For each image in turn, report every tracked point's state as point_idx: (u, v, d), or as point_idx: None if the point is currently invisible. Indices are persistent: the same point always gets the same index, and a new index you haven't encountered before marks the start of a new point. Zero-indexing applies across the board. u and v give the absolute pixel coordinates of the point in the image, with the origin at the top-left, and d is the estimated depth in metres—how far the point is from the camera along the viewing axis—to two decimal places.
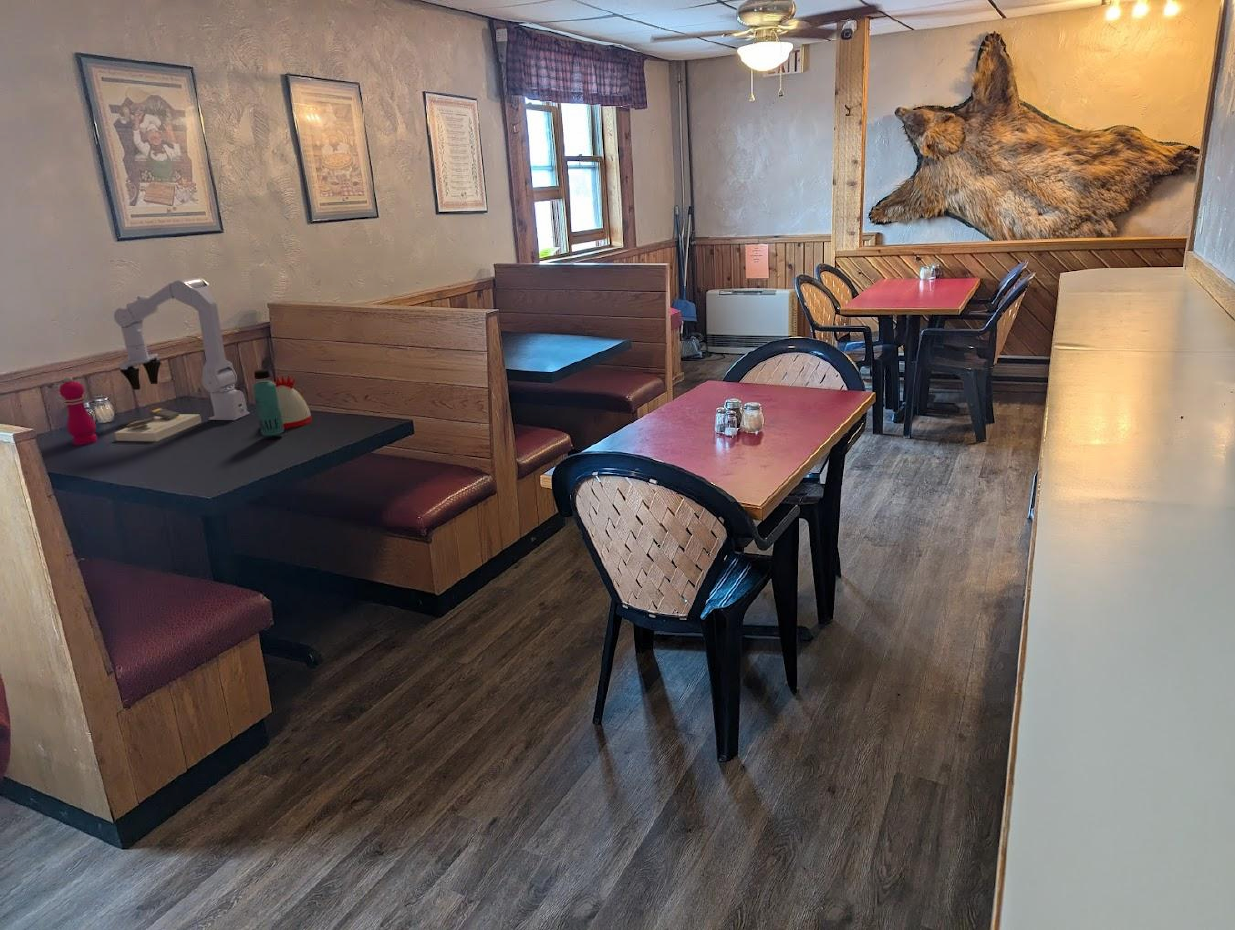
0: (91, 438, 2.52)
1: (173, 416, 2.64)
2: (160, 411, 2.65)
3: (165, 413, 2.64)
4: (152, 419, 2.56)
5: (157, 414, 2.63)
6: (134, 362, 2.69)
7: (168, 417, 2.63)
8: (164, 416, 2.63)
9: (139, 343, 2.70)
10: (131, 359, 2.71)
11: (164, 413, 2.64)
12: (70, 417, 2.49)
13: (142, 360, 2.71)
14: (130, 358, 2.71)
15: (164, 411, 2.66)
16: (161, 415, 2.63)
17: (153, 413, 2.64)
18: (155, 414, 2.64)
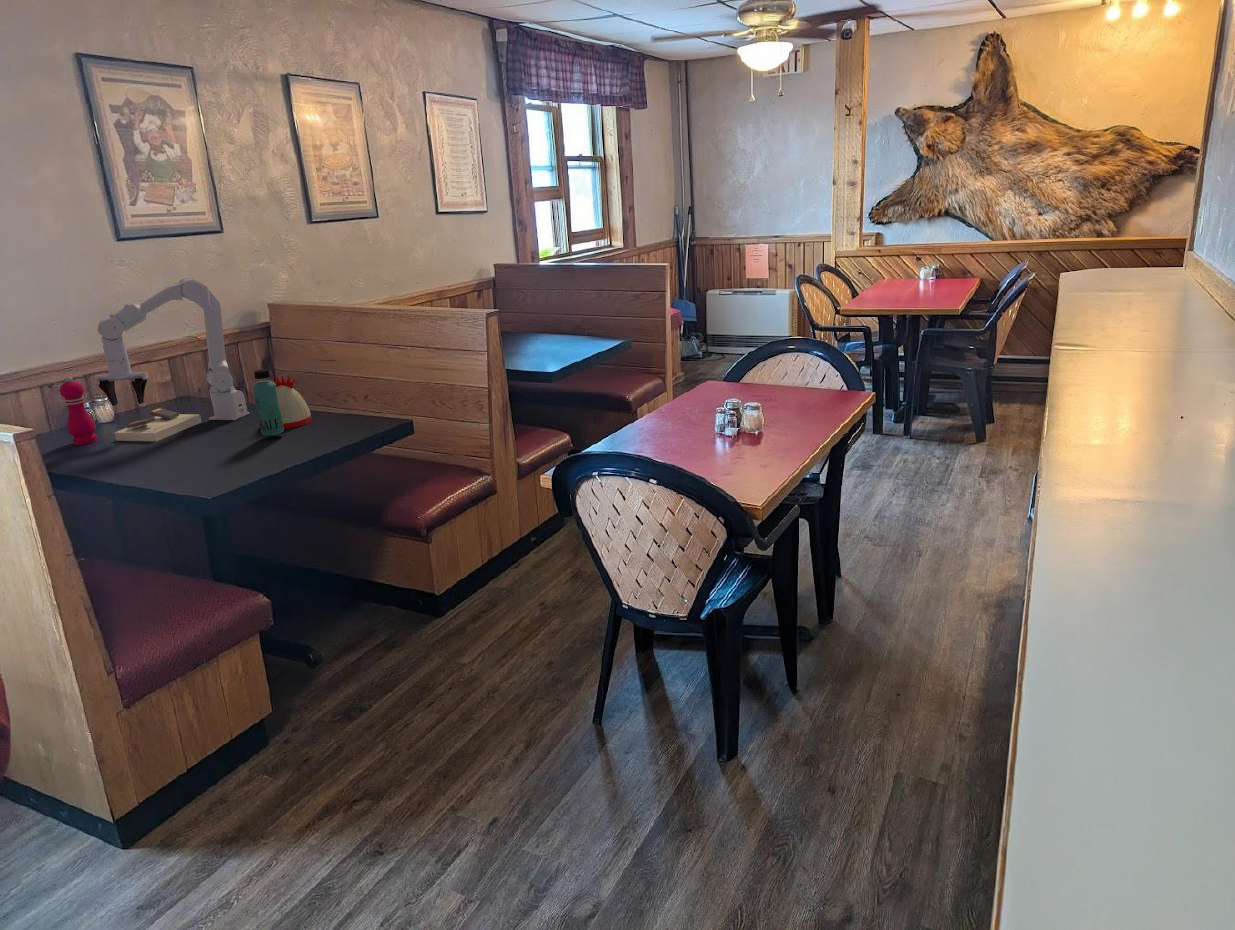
0: (91, 438, 2.52)
1: (173, 416, 2.64)
2: (160, 411, 2.65)
3: (165, 413, 2.64)
4: (152, 419, 2.56)
5: (157, 414, 2.63)
6: (104, 377, 2.52)
7: (168, 417, 2.63)
8: (164, 416, 2.63)
9: (127, 356, 2.52)
10: None
11: (164, 413, 2.64)
12: (70, 417, 2.49)
13: (111, 377, 2.51)
14: None
15: (164, 411, 2.66)
16: (161, 415, 2.63)
17: (153, 413, 2.64)
18: (155, 414, 2.64)
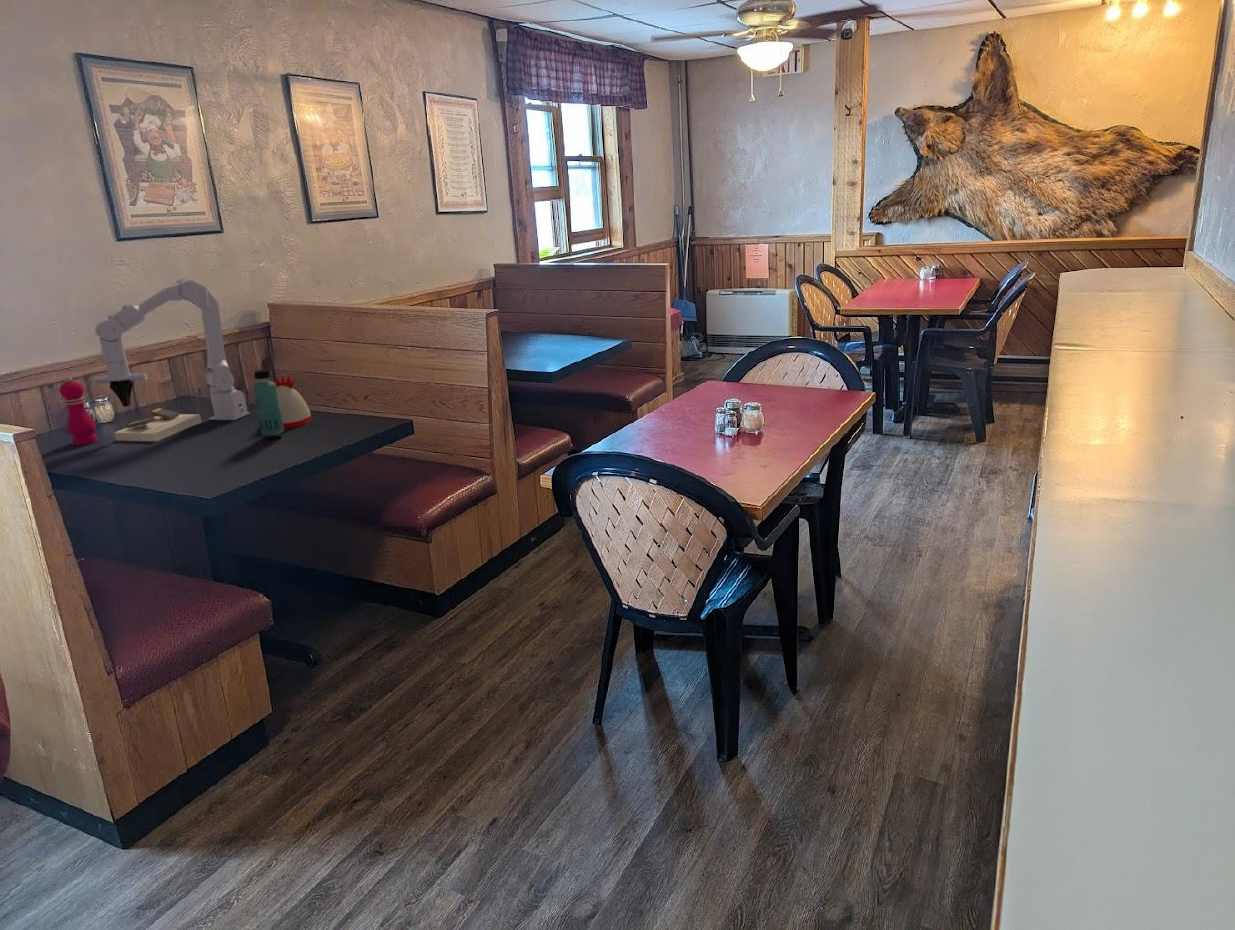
0: (91, 438, 2.52)
1: (173, 416, 2.64)
2: (160, 411, 2.65)
3: (165, 413, 2.64)
4: (152, 419, 2.56)
5: (157, 414, 2.63)
6: (103, 379, 2.50)
7: (168, 417, 2.63)
8: (164, 416, 2.63)
9: (125, 357, 2.51)
10: None
11: (164, 413, 2.64)
12: (70, 417, 2.49)
13: (110, 378, 2.49)
14: None
15: (164, 411, 2.66)
16: (161, 415, 2.63)
17: (153, 413, 2.64)
18: (155, 414, 2.64)
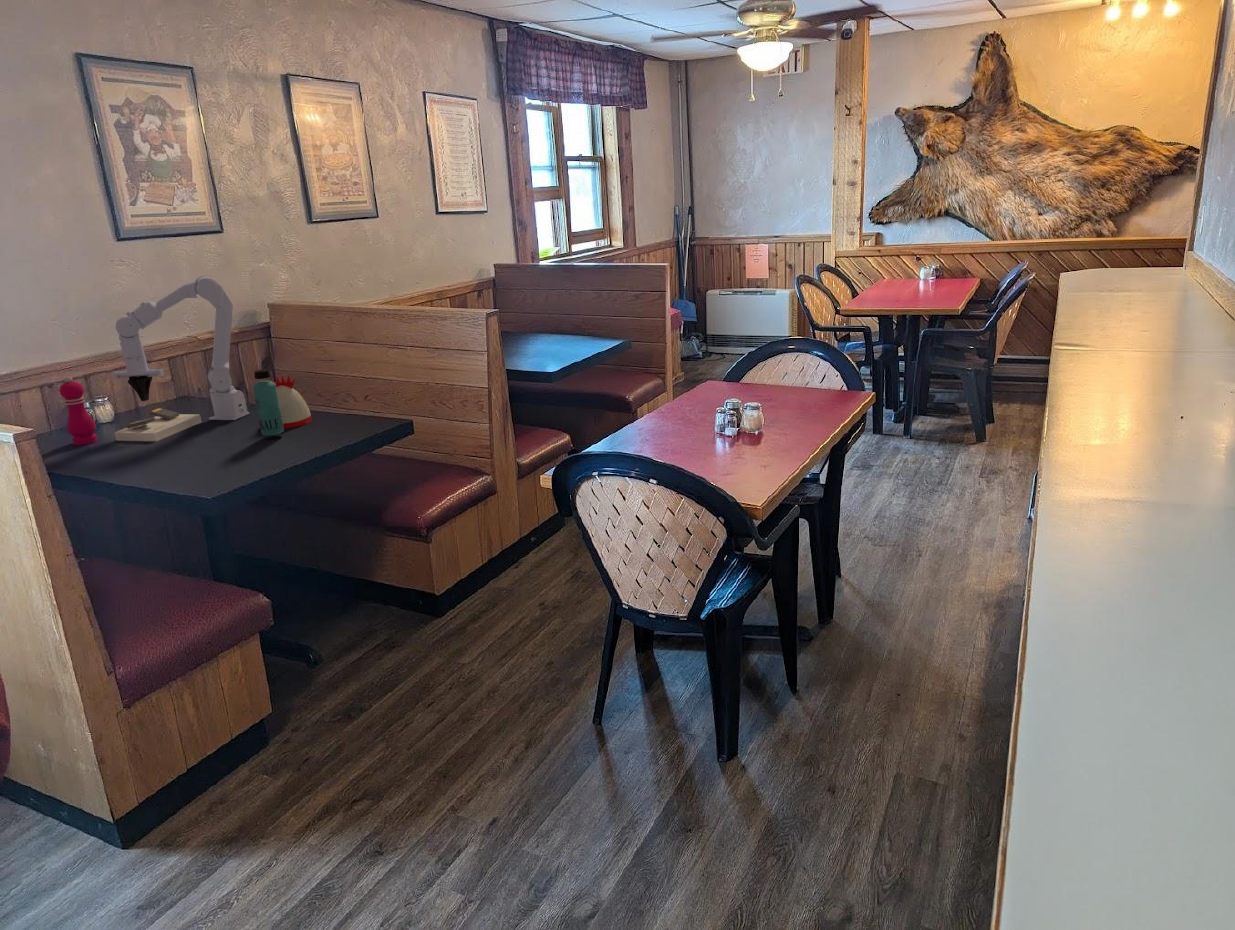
0: (91, 438, 2.52)
1: (173, 416, 2.64)
2: (160, 411, 2.65)
3: (165, 413, 2.64)
4: (152, 419, 2.56)
5: (157, 414, 2.63)
6: (122, 374, 2.57)
7: (168, 417, 2.63)
8: (164, 416, 2.63)
9: (143, 353, 2.56)
10: None
11: (164, 413, 2.64)
12: (70, 417, 2.49)
13: (128, 374, 2.56)
14: None
15: (164, 411, 2.66)
16: (161, 415, 2.63)
17: (153, 413, 2.64)
18: (155, 414, 2.64)
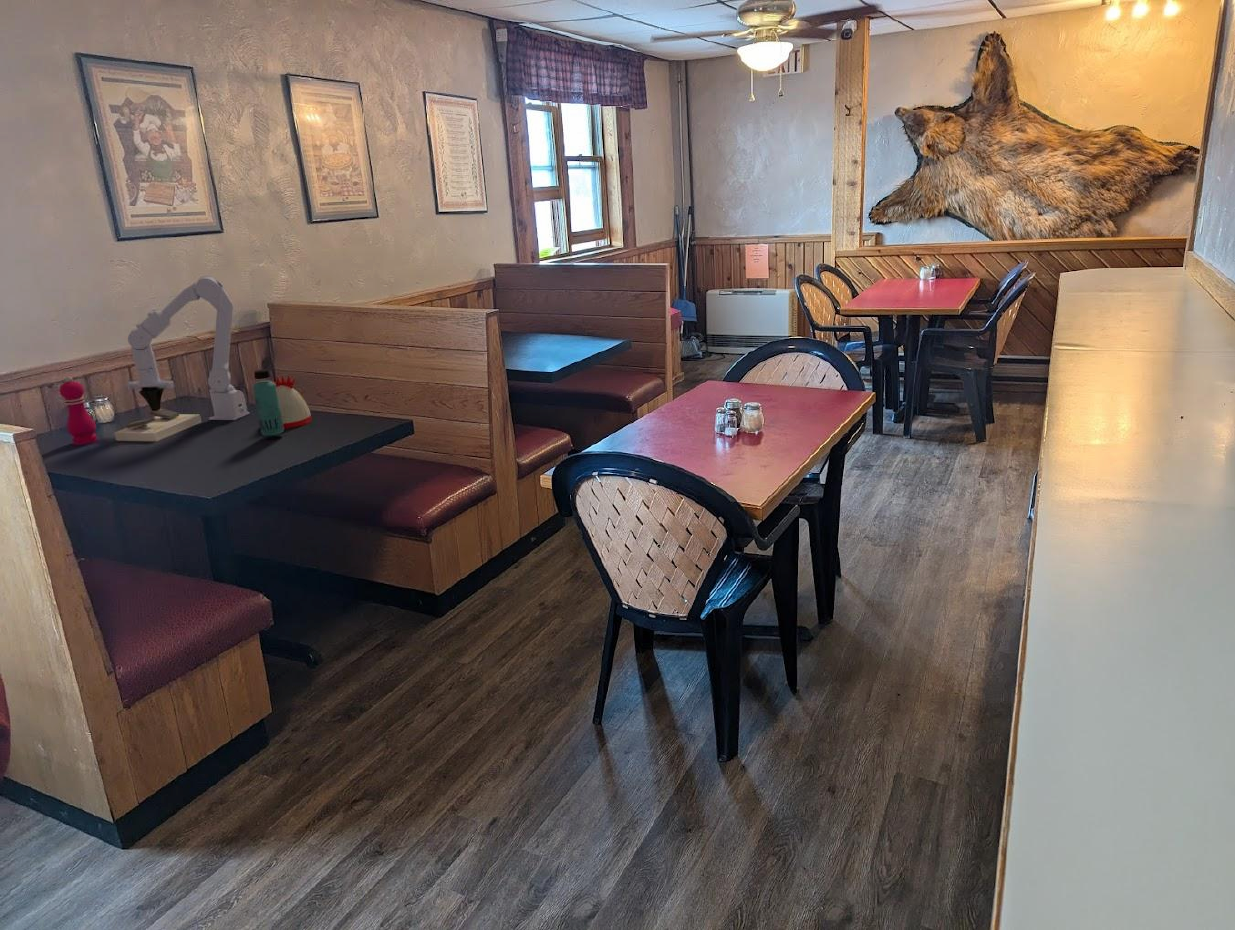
0: (91, 438, 2.52)
1: (173, 416, 2.64)
2: (160, 411, 2.65)
3: (165, 413, 2.64)
4: (152, 419, 2.56)
5: (157, 414, 2.63)
6: (134, 384, 2.62)
7: (168, 417, 2.63)
8: (164, 416, 2.63)
9: (154, 365, 2.61)
10: None
11: (164, 413, 2.64)
12: (70, 417, 2.49)
13: (139, 385, 2.60)
14: None
15: (164, 411, 2.66)
16: (161, 415, 2.63)
17: (153, 413, 2.64)
18: (155, 414, 2.64)
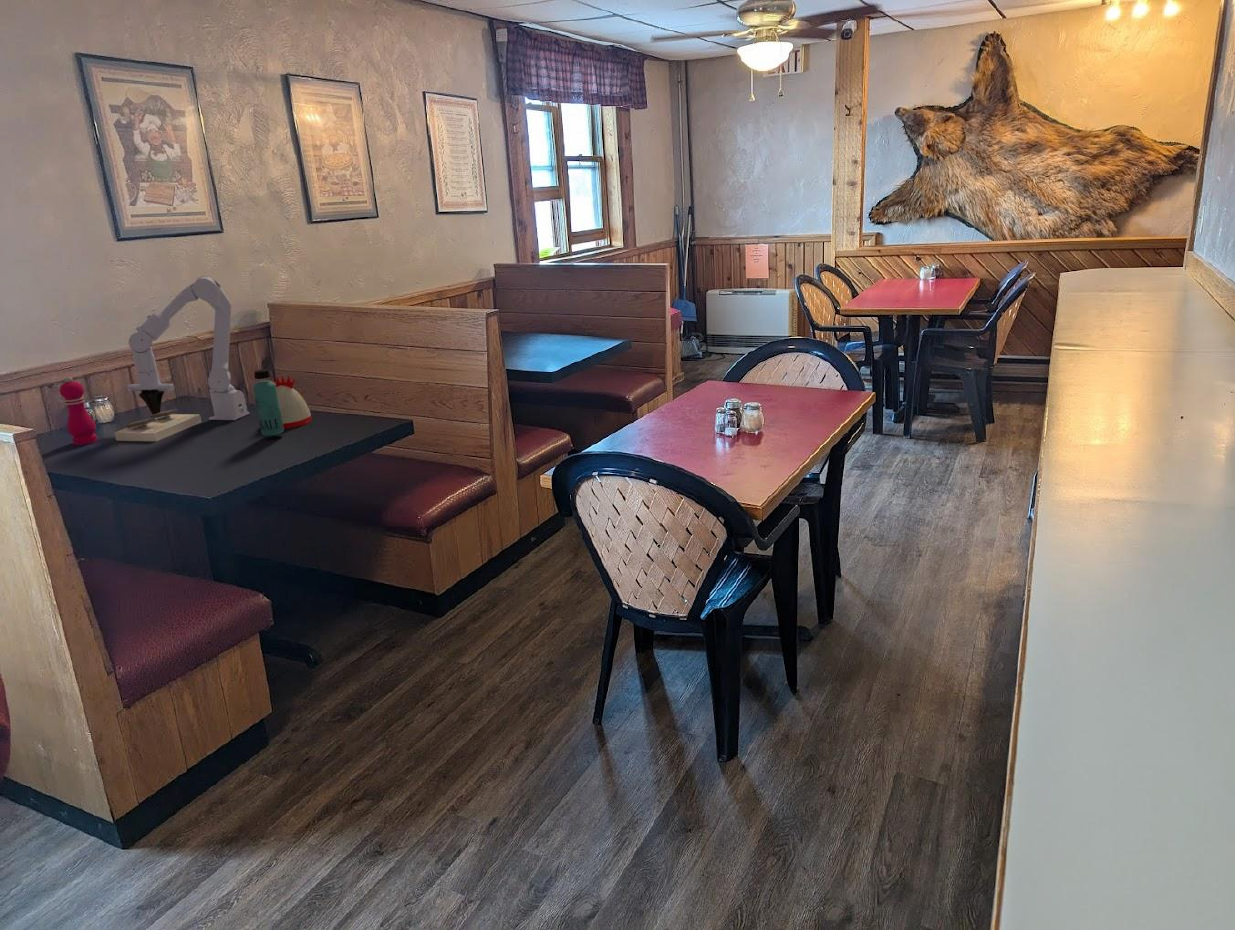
0: (91, 438, 2.52)
1: (172, 412, 2.64)
2: (160, 413, 2.65)
3: (164, 412, 2.64)
4: (152, 419, 2.56)
5: (157, 415, 2.64)
6: (134, 387, 2.62)
7: (167, 413, 2.63)
8: (164, 414, 2.63)
9: (155, 368, 2.61)
10: None
11: (163, 412, 2.64)
12: (70, 417, 2.49)
13: (140, 387, 2.61)
14: None
15: (163, 412, 2.66)
16: (161, 414, 2.63)
17: (153, 416, 2.64)
18: (155, 416, 2.64)
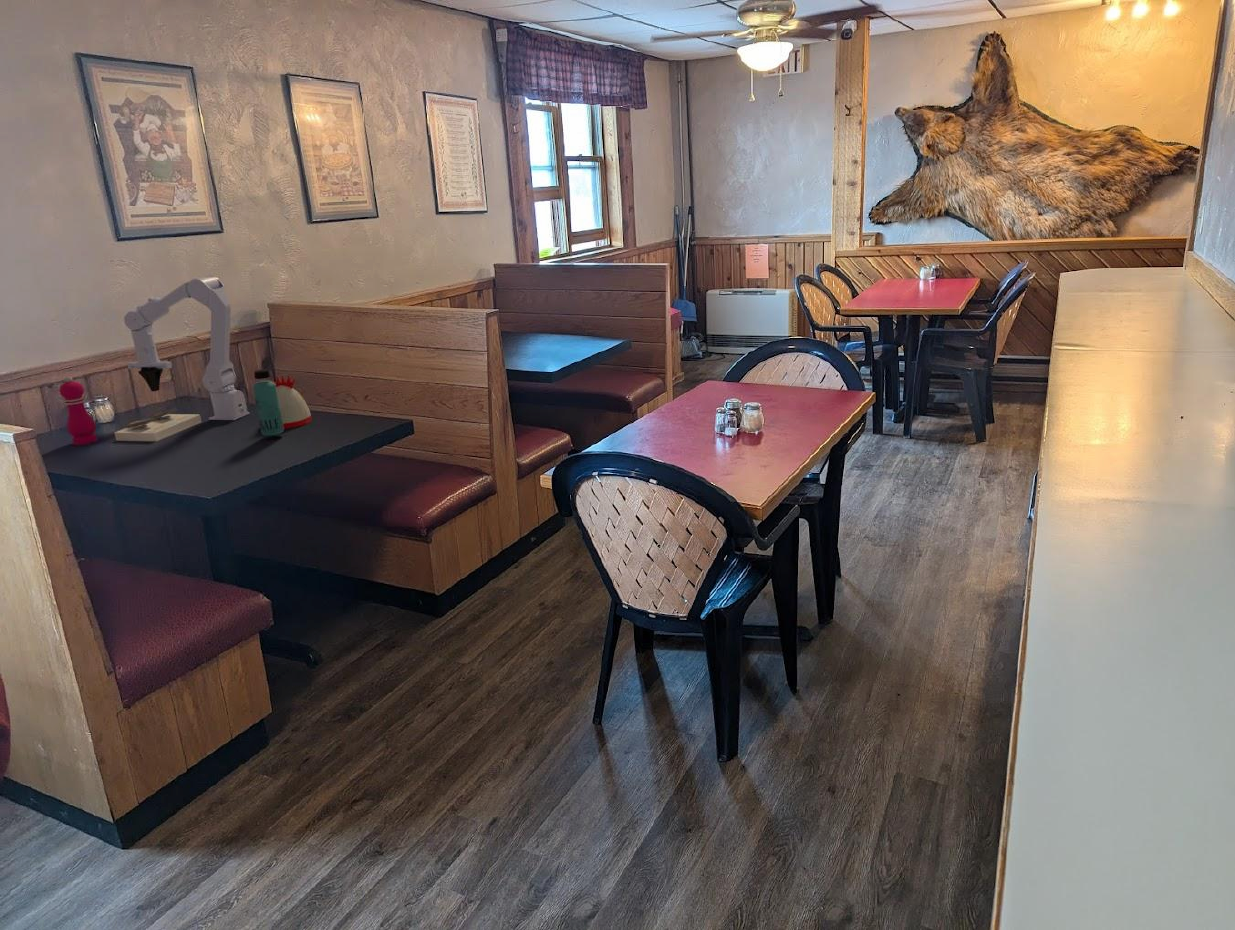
0: (91, 438, 2.52)
1: (171, 410, 2.64)
2: (160, 413, 2.65)
3: None
4: (152, 419, 2.56)
5: (157, 415, 2.64)
6: (134, 364, 2.69)
7: (167, 412, 2.62)
8: (163, 413, 2.63)
9: (150, 346, 2.67)
10: None
11: (163, 412, 2.64)
12: (70, 417, 2.49)
13: (138, 365, 2.68)
14: None
15: None
16: (161, 414, 2.63)
17: (154, 417, 2.64)
18: (156, 416, 2.64)
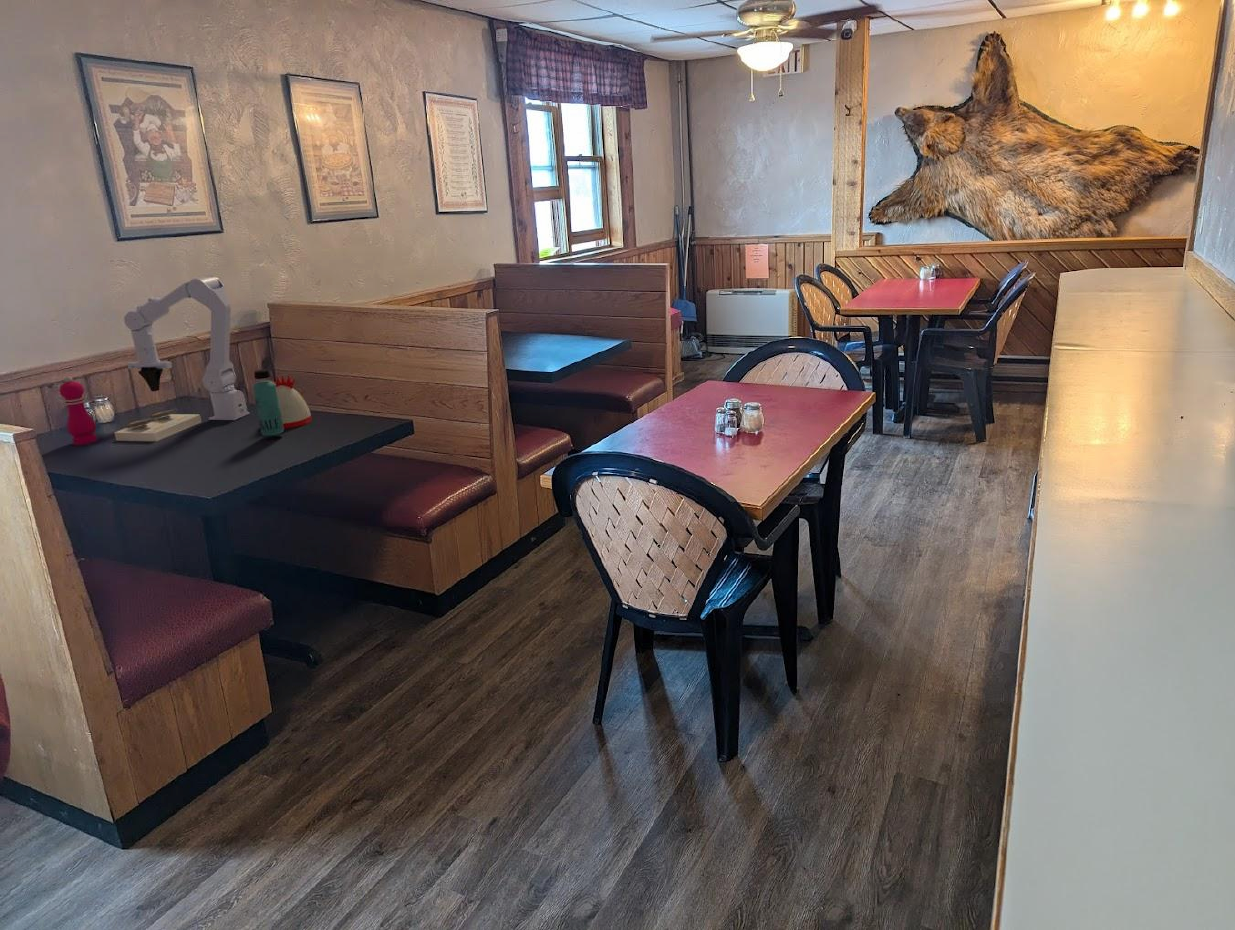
0: (91, 438, 2.52)
1: (172, 411, 2.64)
2: (160, 413, 2.65)
3: (164, 412, 2.64)
4: (152, 419, 2.56)
5: (157, 415, 2.64)
6: (134, 364, 2.69)
7: (167, 413, 2.62)
8: (163, 414, 2.63)
9: (150, 346, 2.67)
10: None
11: (163, 412, 2.64)
12: (70, 417, 2.49)
13: (138, 365, 2.68)
14: None
15: (163, 412, 2.66)
16: (161, 414, 2.63)
17: (154, 416, 2.64)
18: (156, 416, 2.64)
